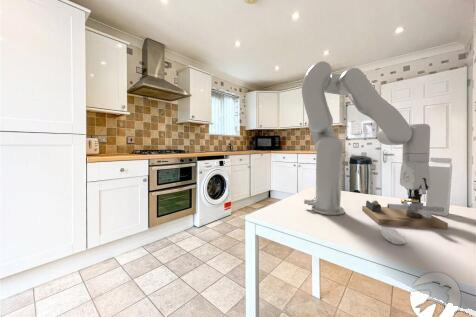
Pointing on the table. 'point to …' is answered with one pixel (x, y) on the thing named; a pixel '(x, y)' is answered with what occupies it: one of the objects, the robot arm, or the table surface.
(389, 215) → the stand
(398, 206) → the capstan
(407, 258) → the table surface
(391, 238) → the dumpling
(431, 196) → the milk
